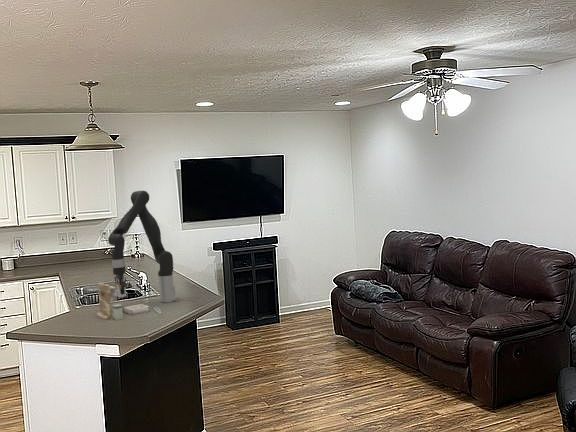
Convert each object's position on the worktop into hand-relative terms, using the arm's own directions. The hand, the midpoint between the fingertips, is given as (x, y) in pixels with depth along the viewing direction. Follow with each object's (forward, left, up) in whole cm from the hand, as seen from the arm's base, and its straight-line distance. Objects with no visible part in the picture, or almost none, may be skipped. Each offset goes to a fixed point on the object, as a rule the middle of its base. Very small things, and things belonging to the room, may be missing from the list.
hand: (121, 293), depth 376 cm
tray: (-5, +11, -11) cm, 16 cm away
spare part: (0, 0, -2) cm, 2 cm away
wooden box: (+12, +8, -11) cm, 18 cm away
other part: (+10, +20, -11) cm, 25 cm away
